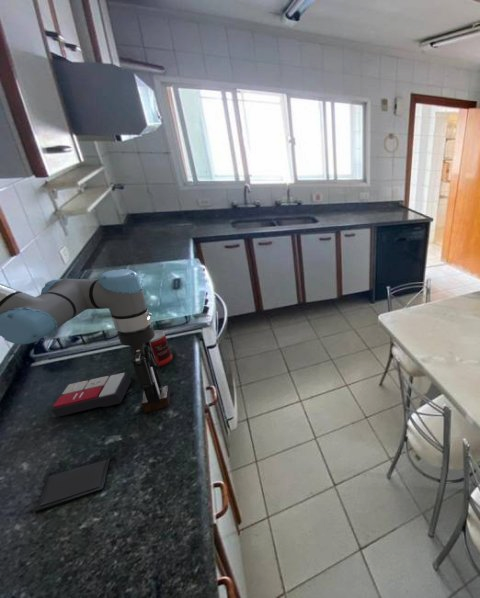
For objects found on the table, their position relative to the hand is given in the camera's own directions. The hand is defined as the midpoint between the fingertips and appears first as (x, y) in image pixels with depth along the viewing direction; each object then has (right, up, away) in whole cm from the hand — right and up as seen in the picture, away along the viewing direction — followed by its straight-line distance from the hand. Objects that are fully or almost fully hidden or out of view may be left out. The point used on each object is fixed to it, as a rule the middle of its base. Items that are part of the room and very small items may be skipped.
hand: (155, 394), depth 97 cm
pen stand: (0, -3, +2) cm, 4 cm away
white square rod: (0, -4, +2) cm, 4 cm away
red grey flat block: (-19, -2, +2) cm, 19 cm away
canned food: (-13, +6, +20) cm, 24 cm away
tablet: (-2, -14, -22) cm, 26 cm away
